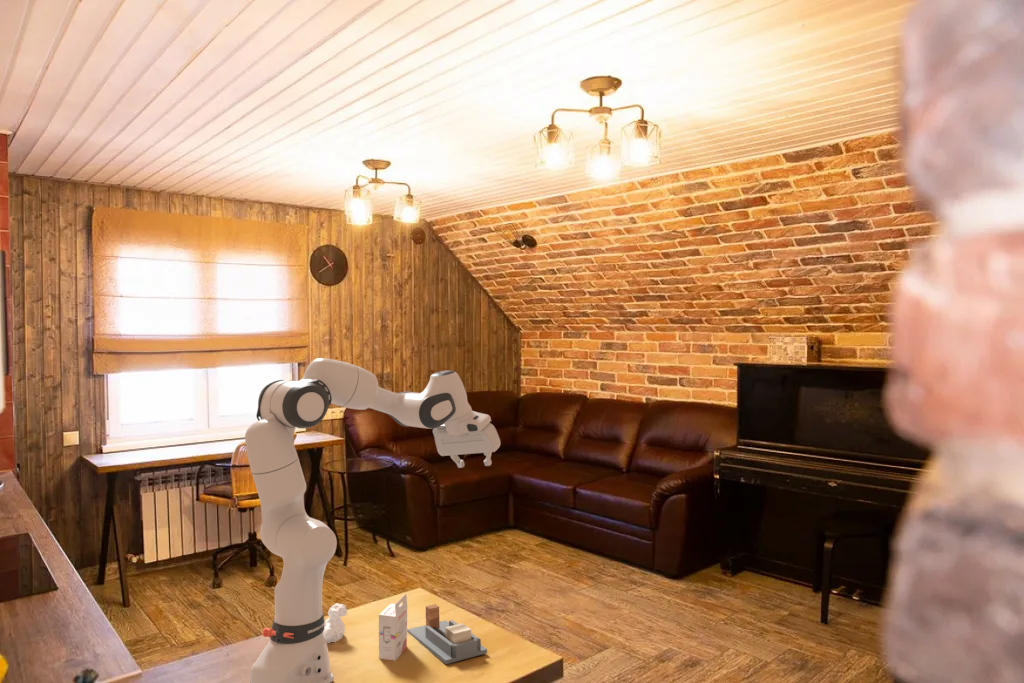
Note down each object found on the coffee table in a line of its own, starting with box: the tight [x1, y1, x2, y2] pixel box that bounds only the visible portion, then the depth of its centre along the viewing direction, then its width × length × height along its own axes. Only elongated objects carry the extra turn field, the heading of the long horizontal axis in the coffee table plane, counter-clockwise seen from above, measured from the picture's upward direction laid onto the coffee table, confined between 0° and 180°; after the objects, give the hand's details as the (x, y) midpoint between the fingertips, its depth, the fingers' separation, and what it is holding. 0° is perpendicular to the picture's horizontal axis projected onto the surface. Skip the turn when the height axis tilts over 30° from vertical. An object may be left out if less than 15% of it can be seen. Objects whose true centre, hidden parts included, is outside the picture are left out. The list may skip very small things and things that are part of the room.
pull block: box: [425, 603, 472, 644], centre depth 200 cm, size 19×5×6 cm, turn 32°
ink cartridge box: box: [378, 593, 408, 661], centre depth 193 cm, size 9×5×15 cm, turn 168°
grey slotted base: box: [407, 619, 488, 665], centre depth 200 cm, size 24×12×4 cm, turn 32°
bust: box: [323, 602, 348, 644], centre depth 203 cm, size 12×8×11 cm
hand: (475, 465), depth 215 cm, fingers open, 8 cm apart
